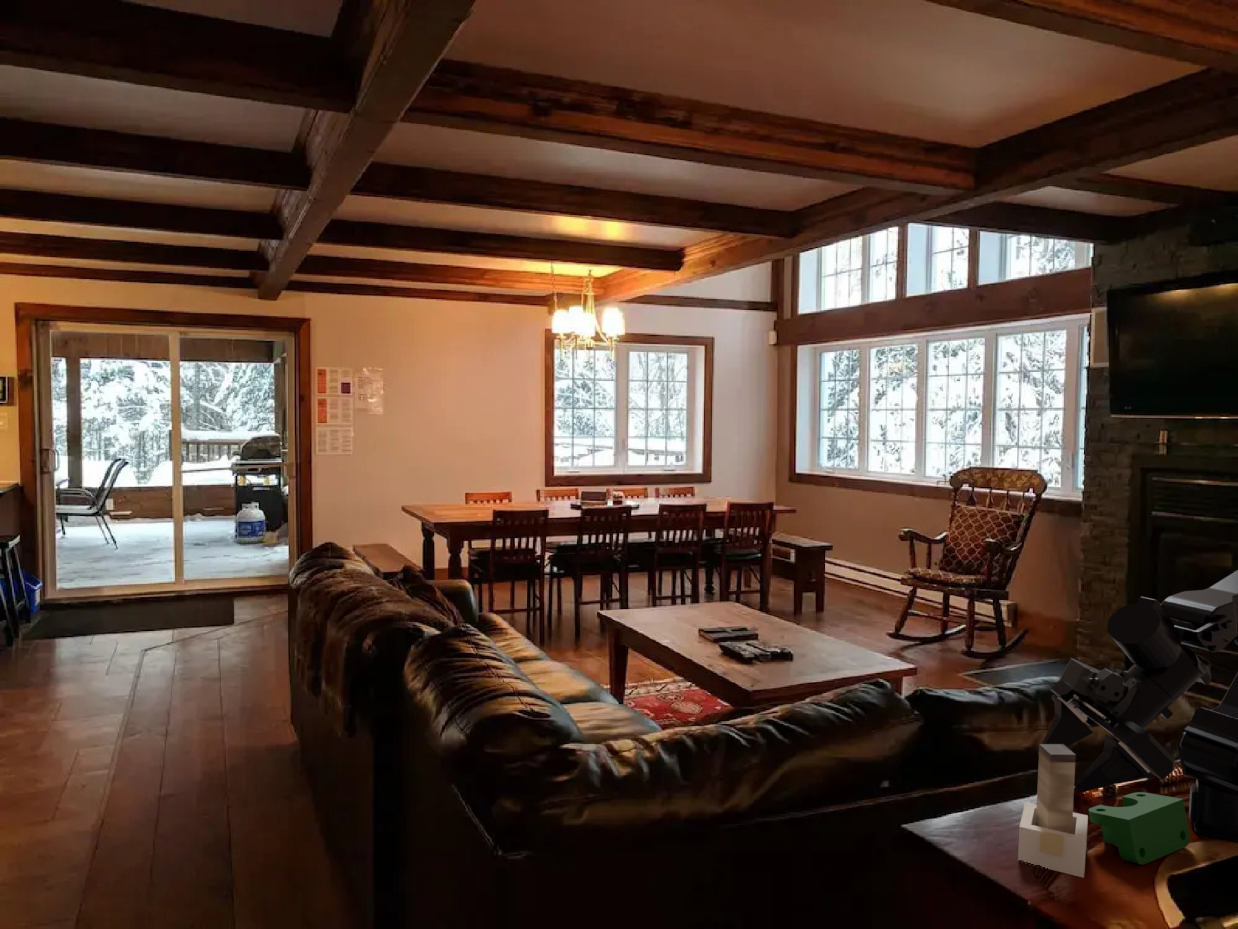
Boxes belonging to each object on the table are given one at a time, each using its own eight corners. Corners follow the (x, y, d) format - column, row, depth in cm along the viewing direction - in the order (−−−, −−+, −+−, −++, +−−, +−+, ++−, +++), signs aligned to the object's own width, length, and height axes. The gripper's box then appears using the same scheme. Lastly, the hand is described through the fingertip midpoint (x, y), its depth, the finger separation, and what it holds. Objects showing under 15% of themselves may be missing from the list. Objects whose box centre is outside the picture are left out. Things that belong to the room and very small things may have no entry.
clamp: (1141, 865, 114) (1146, 793, 117) (1187, 877, 109) (1191, 802, 112) (1080, 849, 110) (1086, 775, 113) (1125, 860, 105) (1131, 782, 107)
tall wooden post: (1059, 843, 110) (1063, 744, 109) (1070, 856, 107) (1075, 754, 106) (1035, 843, 110) (1039, 744, 109) (1046, 856, 107) (1050, 754, 106)
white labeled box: (1086, 849, 110) (1088, 814, 110) (1083, 880, 103) (1085, 843, 103) (1023, 834, 114) (1025, 801, 113) (1017, 863, 107) (1018, 828, 106)
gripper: (1068, 618, 115) (982, 699, 117) (1153, 665, 97) (1050, 761, 98) (1125, 675, 116) (1039, 755, 117) (1220, 733, 98) (1117, 827, 99)
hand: (1057, 771), depth 108 cm, fingers open, 9 cm apart
